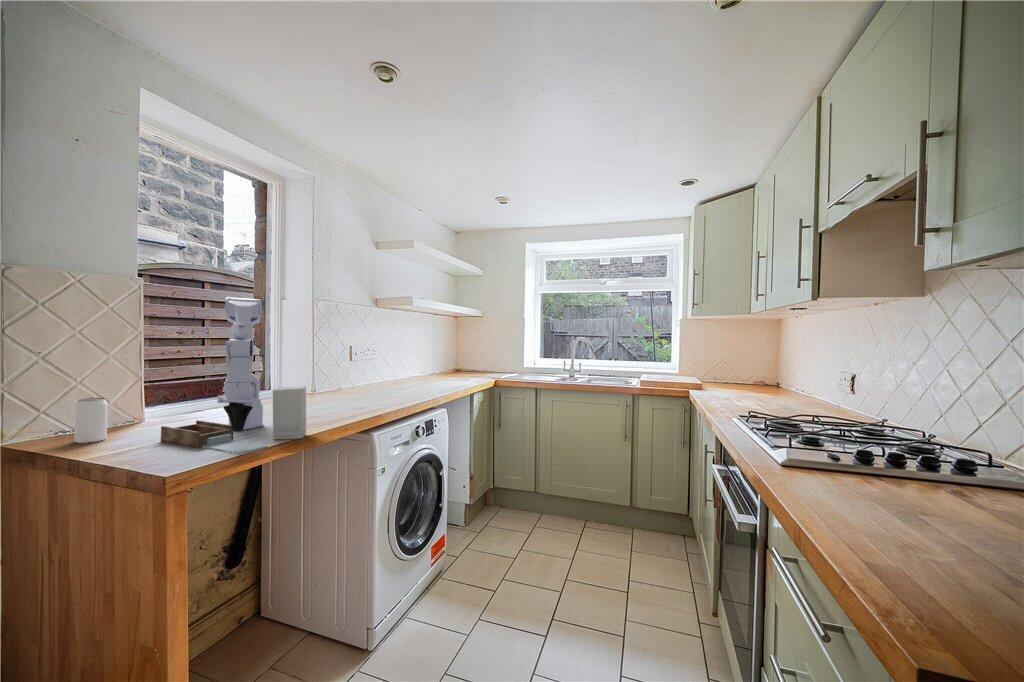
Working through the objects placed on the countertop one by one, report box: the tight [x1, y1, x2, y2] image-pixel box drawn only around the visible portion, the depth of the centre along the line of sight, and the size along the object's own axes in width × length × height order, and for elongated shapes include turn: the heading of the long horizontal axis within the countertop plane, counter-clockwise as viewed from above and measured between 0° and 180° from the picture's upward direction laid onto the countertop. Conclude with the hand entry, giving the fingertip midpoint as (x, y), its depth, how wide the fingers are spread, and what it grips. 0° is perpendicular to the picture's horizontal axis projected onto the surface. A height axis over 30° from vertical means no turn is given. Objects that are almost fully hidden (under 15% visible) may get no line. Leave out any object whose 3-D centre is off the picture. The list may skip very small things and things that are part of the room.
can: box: [73, 397, 108, 444], centre depth 117 cm, size 6×6×12 cm
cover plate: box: [201, 434, 268, 455], centre depth 116 cm, size 15×8×3 cm, turn 69°
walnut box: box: [160, 419, 235, 449], centre depth 121 cm, size 16×10×4 cm, turn 70°
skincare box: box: [272, 386, 307, 440], centre depth 128 cm, size 8×7×16 cm
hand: (237, 430), depth 115 cm, fingers closed
